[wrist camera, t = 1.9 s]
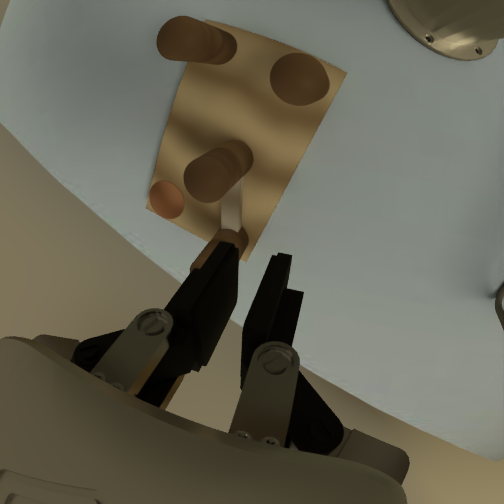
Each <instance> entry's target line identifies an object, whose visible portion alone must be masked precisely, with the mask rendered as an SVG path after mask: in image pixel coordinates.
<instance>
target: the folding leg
mask: <svg viewBox="0 0 504 504" xmlns="http://www.w3.org/2000/svg"><path fill="white" fill-rule="evenodd" d="M253 161H254V158H253V153H252V151H251V149H250V148H249V146H248V145H246V144H245V143H244V142H241V141H238V140H231V141H228V142H226V143H224V144H222V145H220V146H218V147H216V148H214V149H212V150H211V151H209V152H207V153H205V154H203V155H202V156H200V157H198V158H196V159H195V160H193V161H191V162H190V163H189V164H188V165H187V167H186V168H185V171H184V176H183V179H184V185H185V187H186V189H187V191H188V193H189V194H190V195H191V196H192V197H193V198H194V199H196V200H198V201H200V202H203V203H214V202H216V201H218V200H220V199H221V228H220V229H219V230H218V231H217V233H216V234H215V235H214V236H213V238H212V239H211V240H210V241H209V243H208V244H207V245H206V247H205V248H204V249H203V250H202V252H201V253H200V254H199V256H198V257H197V258H196V260H195V261H194V262H193V263H192V265H191V267H190V273H191V271H192V270H193V269H194V268H199V269H200V268H201V267H202V265H203V264H204V263H205V261H206V260H207V258H208V257H209V256H210V254H211V253H212V251H213V250H214V249H215V247H216V246H217V245H218V243H219V242H220V241H225V242H230V243H234V244H235V247H236V248H239V260H240V259H241V257H242V255H243V253H244V251H245V250H246V248H247V246H248V243H249V238H248V235H247V233H246V231H245V230H244V229H243V228H242V227H241V224H242V200H243V178H244V175H245V174H246V173H247V172H248V171H249V170H250V169H251V167H252V165H253Z"/></svg>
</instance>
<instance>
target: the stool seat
mask: <svg viewBox="0 0 504 504" xmlns="http://www.w3.org/2000/svg"><path fill="white" fill-rule="evenodd" d="M157 48H158V51H159V52H160V54H161V55H162V56H163V57H164V58H166V59H169V60H175V61H187V62H188V63H187V66H186V69H185V71H184V74H183V77H182V80H181V82H180V85H179V88H178V91H177V94H176V97H175V100H174V103H173V106H172V109H171V112H170V116H169V119H168V122H167V125H166V129H165V132H164V136H163V139H162V143H161V146H160V150H159V154H158V158H157V161H156V165H155V169H154V174H153V178H152V182H151V186H150V191H149V195H148V200H147V205H146V209H148V210H150V211H152V212H154V213H156V214H157V215H159V216H161V217H163V218H165V219H167V220H168V221H170V222H172V223H174V224H176V225H178V226H180V227H181V228H183V229H185V230H187V231H189V232H191V233H193V234H194V235H196V236H198V237H200V238H202V239H204V240H206V241H207V242H209V241H210V240H211V239H212V238H213V236H214V235H215V234H216V233H217V231H218V230H219V229H220V228H221V199H220V200H218V201H216V202H214V203H203V202H200V201H198V200H196V199H194V198H193V197H192V196H191V195H190V194H189V193H188V191H187V189H186V187H185V185H184V179H183V176H184V171H185V168H186V167H187V165H188V164H189V163H190V162H191V161H193V160H195V159H196V158H198V157H200V156H202V155H203V154H205V153H207V152H209V151H211V150H212V149H214V148H216V147H218V146H220V145H222V144H224V143H226V142H228V141H231V140H238V141H241V142H244V143H245V144H246V145H248V146H249V148H250V149H251V151H252V153H253V158H254V161H253V165H252V167H251V169H250V170H249V171H248V172H247V173H246V174H245V175H244V178H243V200H242V224H241V227H242V228H243V229H244V230H245V231H246V233H247V235H248V238H249V243H248V246H247V248H246V250H245V251H244V253H243V255H242V257H241V260H243V261H245V262H247V260H248V258H249V256H250V254H251V252H252V250H253V248H254V247H255V245H256V243H257V241H258V239H259V237H260V235H261V233H262V232H263V230H264V228H265V226H266V224H267V222H268V220H269V219H270V217H271V215H272V213H273V211H274V209H275V207H276V205H277V204H278V202H279V200H280V198H281V196H282V194H283V192H284V190H285V189H286V187H287V185H288V183H289V181H290V179H291V177H292V175H293V174H294V172H295V170H296V168H297V166H298V164H299V162H300V160H301V159H302V157H303V155H304V153H305V151H306V149H307V147H308V145H309V144H310V142H311V140H312V138H313V136H314V134H315V132H316V131H317V129H318V127H319V125H320V123H321V121H322V119H323V117H324V116H325V114H326V112H327V110H328V108H329V106H330V104H331V102H332V101H333V99H334V97H335V95H336V93H337V91H338V89H339V88H340V86H341V84H342V82H343V80H344V78H345V76H346V74H347V73H346V72H345V71H343V70H341V69H339V68H337V67H335V66H333V65H331V64H329V63H327V62H325V61H323V60H320V59H318V58H316V57H314V56H312V55H310V54H307V53H305V52H303V51H300V50H298V49H296V48H293V47H291V46H288V45H286V44H283V43H281V42H278V41H275V40H273V39H270V38H267V37H264V36H261V35H258V34H255V33H252V32H249V31H246V30H243V29H239V28H236V27H232V26H229V25H225V24H221V23H217V22H213V21H209V20H205V22H202V21H199V20H196V19H194V18H191V17H188V16H178V17H175V18H172V19H170V20H169V21H167V22H166V23H165V24H164V25H163V26H162V28H161V29H160V31H159V33H158V36H157Z"/></svg>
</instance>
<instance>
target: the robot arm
mask: <svg viewBox="0 0 504 504" xmlns="http://www.w3.org/2000/svg"><path fill="white" fill-rule="evenodd" d="M387 2H388V4H389V6H390V8H391V10H392V12H393V13H394V15H395V16H396V18H397V20H398V21H399V22H400V23H401V24H402V26H403V27H404V28H405V29H406V30H407V31H408V32H409V33H410V34H411V35H412V36H413V37H414V38H415V39H416V40H418V41H419V42H420V43H422V44H423V45H424V46H426V47H427V48H429V49H431V50H432V51H434V52H436V53H438V54H440V55H443V56H445V57H447V58H451V59H455V60H461V61H471V60H478V59H482V58H484V57H486V56H487V55H489V54H490V53H491V52H492V51H493V50H494V48H495V47H496V45H497V42H498V40H499V39H501V38H504V0H387ZM426 37H427V38H428V39H429V42H428V41H427V40H426ZM476 51H477V53H476ZM291 261H292V255H289V254H284V253H278V254H277V256H275V255H272V257H271V259H270V261H269V264H268V266H267V269H266V271H265V274H264V276H263V279H262V281H261V283H260V286H259V288H258V291H257V293H256V296H255V298H254V300H253V303H252V305H251V308H250V310H249V312H248V315H247V317H246V320H245V323H244V326H243V332H242V352H241V353H242V354H241V375H240V376H241V386H240V388H241V390H242V392H241V395H240V398H239V401H238V404H237V408H236V410H235V414H234V417H233V420H232V423H231V426H230V429H229V432H228V433H226V432H223V431H220V430H216V429H213V428H211V427H207V426H205V425H202V424H199V423H196V422H193V421H191V420H188V419H185V418H183V417H180V416H178V415H175V414H173V413H170V412H168V411H165V409H166V408H167V406H168V404H169V402H170V401H171V399H172V397H173V396H174V394H175V392H176V391H177V389H178V387H179V386H180V384H181V382H182V380H183V378H184V376H185V374H187V373H190V371H191V370H194V371H197V372H199V370H200V368H201V366H206V365H207V363H208V362H209V360H210V358H211V356H212V354H213V351H214V349H215V347H216V345H217V343H218V341H219V339H220V337H221V335H222V332H223V331H224V329H225V327H226V324H227V322H228V320H229V318H230V316H231V314H232V312H233V310H234V308H235V306H236V303H237V298H238V267H239V248H236V247H235V244H234V243H230V242H225V241H220V242H219V243H218V245H217V246H216V247H215V249H214V250H213V251H212V253H211V254H210V256H209V257H208V258H207V260H206V261H205V263H204V264H203V265H202V267H201V268H200V269H199V268H194V269H193V270H192V271H191V273H190V274H189V276H188V277H187V278H186V280H185V281H184V282H183V284H182V285H181V287H180V288H179V289H178V291H177V292H176V293H175V295H174V296H173V297H172V299H171V300H170V302H169V303H168V305H167V306H166V307H165V309H164V310H163V309H159V308H151V309H147V310H144V311H142V312H141V313H139V314H138V315H137V316H136V317H135V318H134V319H133V321H132V322H131V323H130V324H129V325H128V327H127V328H126V329H123V330H120V331H116V332H112V333H108V334H105V335H101V336H97V337H93V338H90V339H87V340H84V341H83V342H81V343H80V342H79V340H76V339H69V338H63V337H57V336H51V335H39V336H37V337H35V338H34V339H33V340H31V339H27V338H23V337H16V336H13V337H12V336H9V337H4V338H1V339H0V504H407V499H406V494H405V492H404V489H403V488H402V486H401V485H402V483H403V481H404V479H405V476H406V474H407V472H408V469H409V464H410V462H409V457H408V455H407V454H406V452H405V451H403V450H402V449H400V448H398V447H395V446H393V445H390V444H388V443H385V442H383V441H381V440H378V439H376V438H374V437H371V436H369V435H367V434H365V433H362V432H360V431H358V430H356V429H353V430H350V429H348V428H346V427H344V426H343V425H342V423H341V422H340V420H339V419H338V417H337V416H336V415H335V414H334V413H333V411H332V410H331V409H330V408H329V407H328V406H327V404H326V403H325V402H324V401H323V399H322V398H321V397H320V396H319V394H318V393H317V392H316V391H315V390H314V389H313V387H312V386H311V385H310V383H309V382H308V381H307V380H306V379H305V377H304V376H303V375H302V373H301V372H300V371H299V366H300V358H299V356H298V353H297V352H296V351H295V349H294V348H293V347H292V343H293V339H294V334H295V330H296V326H297V322H298V317H299V313H300V308H301V304H302V299H303V294H304V292H301V291H297V290H292V289H287V284H288V279H289V273H290V267H291Z"/></svg>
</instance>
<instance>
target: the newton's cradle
mask: <svg viewBox="0 0 504 504" xmlns="http://www.w3.org/2000/svg"><path fill="white" fill-rule="evenodd" d="M503 297H504V285H503V286H502V287H501V289H500V290H499V292H498V294H497V296H496V300H495V310H496V313H497V315H498V318H499V320H500V322H501V325H502V327H503V330H504V310H503V308H502V299H503Z"/></svg>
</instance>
